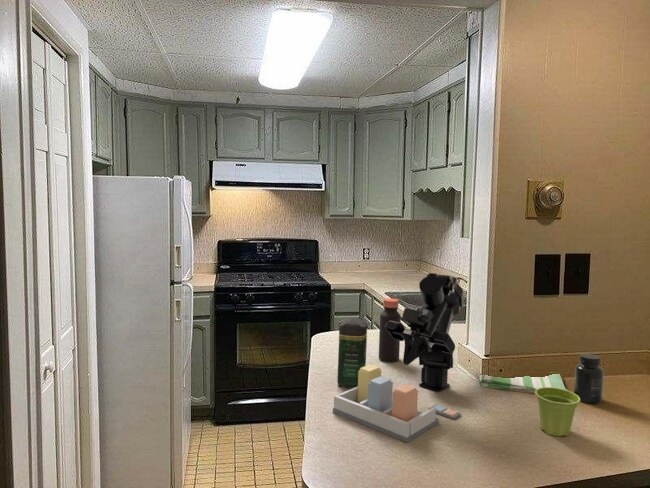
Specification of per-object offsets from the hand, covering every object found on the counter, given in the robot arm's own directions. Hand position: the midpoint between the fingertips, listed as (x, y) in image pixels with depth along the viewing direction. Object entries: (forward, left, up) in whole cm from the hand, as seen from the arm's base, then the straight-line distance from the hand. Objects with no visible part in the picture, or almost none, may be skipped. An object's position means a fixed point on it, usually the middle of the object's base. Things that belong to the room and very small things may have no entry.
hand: (404, 364), depth 125 cm
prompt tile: (-9, -4, -11) cm, 15 cm away
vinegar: (+25, -28, -11) cm, 39 cm away
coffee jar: (+20, -3, -11) cm, 23 cm away
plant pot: (-32, -14, -11) cm, 37 cm away
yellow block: (+7, +6, -10) cm, 13 cm away
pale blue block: (0, +11, -10) cm, 14 cm away
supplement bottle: (-32, -40, -11) cm, 53 cm away
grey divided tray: (0, +8, -11) cm, 14 cm away
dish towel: (-14, -40, -12) cm, 45 cm away
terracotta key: (-7, +11, -10) cm, 16 cm away
